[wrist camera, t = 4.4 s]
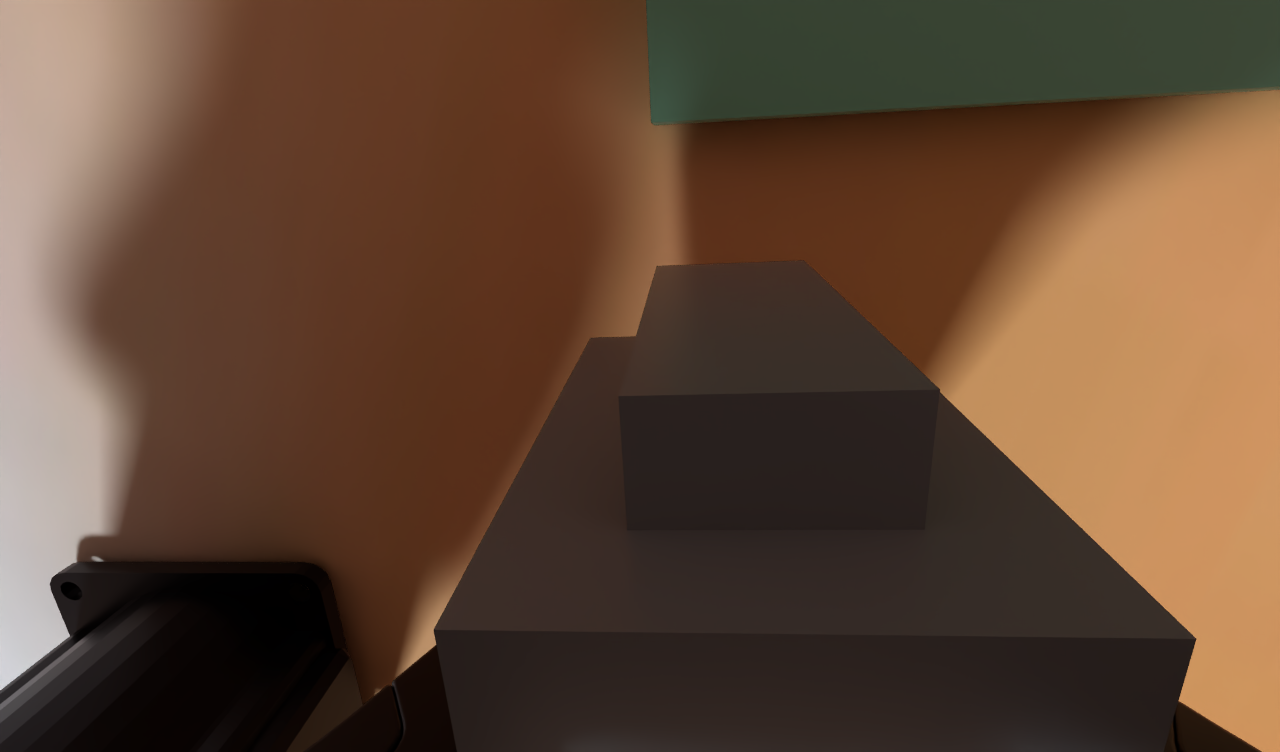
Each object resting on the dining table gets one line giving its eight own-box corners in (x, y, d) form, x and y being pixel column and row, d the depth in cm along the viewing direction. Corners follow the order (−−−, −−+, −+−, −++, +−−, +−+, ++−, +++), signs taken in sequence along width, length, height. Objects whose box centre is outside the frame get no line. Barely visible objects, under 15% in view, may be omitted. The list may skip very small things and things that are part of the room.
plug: (616, 667, 11) (541, 1191, 6) (585, 268, 9) (403, 469, 3) (850, 671, 11) (1022, 1234, 5) (880, 257, 9) (1245, 461, 3)
